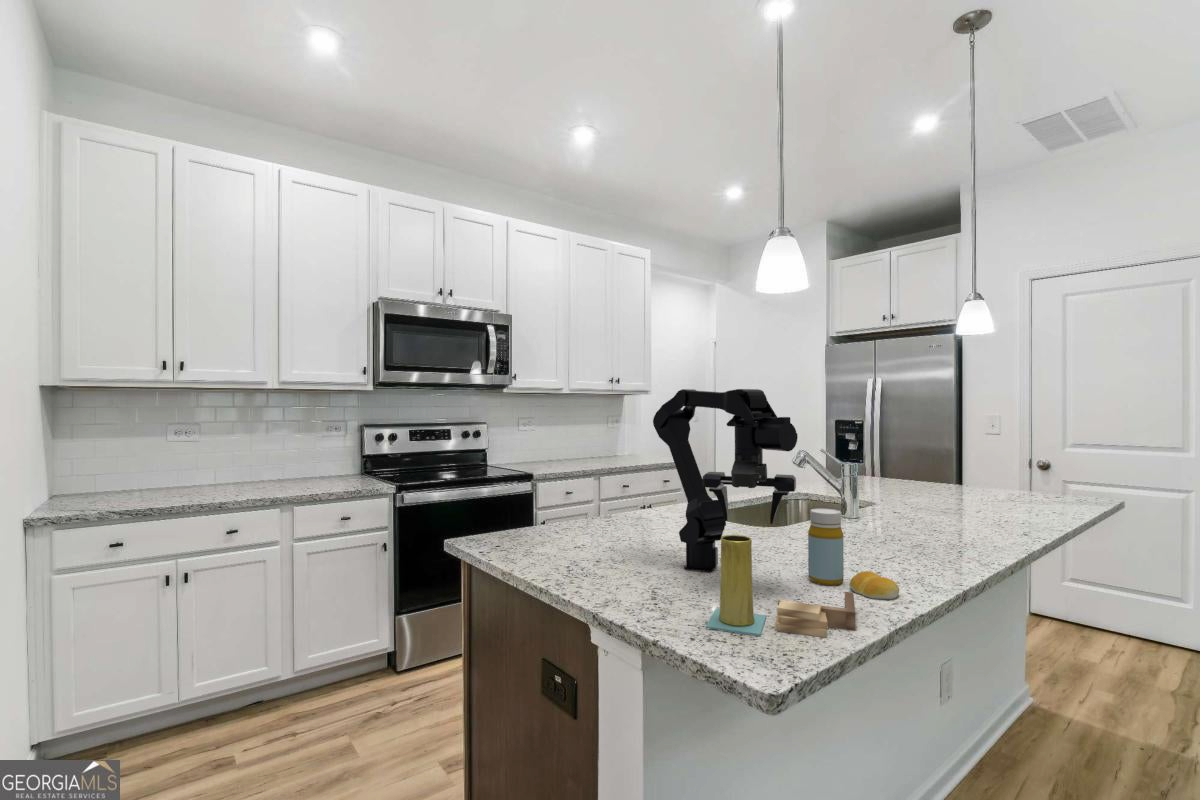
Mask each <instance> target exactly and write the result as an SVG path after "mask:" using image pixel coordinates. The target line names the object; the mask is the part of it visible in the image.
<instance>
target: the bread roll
mask: <svg viewBox="0 0 1200 800" xmlns="http://www.w3.org/2000/svg"><path fill="white" fill-rule="evenodd" d="M849 587H850V588H851V590H852V591H853V593H856V594H858V595H862V596H863V597H864V598H865V597H866V598H868V599H872V600H873V599H875V600H885V599H887V600H888V599H889V600H893V599H894V600H895V599H896V598H897V597H898V596H899V594H900V589H899V588H900V587H899V586H898V584H897V583H896V582H895V581H894V580H893V579H890V578H888V577H882V576H881V575H879V574H877V573H875V572H873V571H869V570H868V571H867V570H866V571H860V572H858V573H856V574H855V575H853V576H852V577H851V579H850V581H849Z"/></svg>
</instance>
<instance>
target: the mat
mask: <svg viewBox="0 0 1200 800" xmlns="http://www.w3.org/2000/svg"><path fill="white" fill-rule="evenodd" d="M719 613H720V608H715V610H714V611H713V613H712V614H711V616H710V618H709V620H708V622H707V623H706V625H705V629H706V628H710V629H709V630H712V629H718V630H717V631H719V630H723V631H722V632H726V631H729V632H728V633H733V632H735V633H734V634H740V633H741V634H742V635H747V636H755V637H761V635H762V633H763V629H764V627H765V624H766V620H767V614H761V613H760V614H759V613H753V615H754V619H755V621H754V623H753V624H751V625H748V626H732V625H728V624H725V623H723V622H721V621H720V620H719ZM741 634H740V635H741Z"/></svg>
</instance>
